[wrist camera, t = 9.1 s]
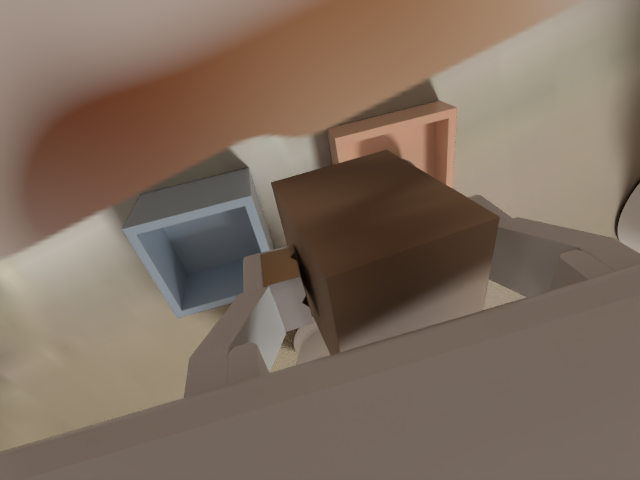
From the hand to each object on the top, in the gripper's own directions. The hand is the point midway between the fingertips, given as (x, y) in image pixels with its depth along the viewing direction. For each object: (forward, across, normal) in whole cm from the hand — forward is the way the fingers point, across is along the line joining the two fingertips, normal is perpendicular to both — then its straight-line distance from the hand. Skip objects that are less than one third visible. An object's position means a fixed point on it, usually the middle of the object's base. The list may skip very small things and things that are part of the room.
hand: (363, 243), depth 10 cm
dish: (+17, -7, +6) cm, 19 cm away
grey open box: (+17, +8, +7) cm, 20 cm away
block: (+2, 0, 0) cm, 2 cm away
